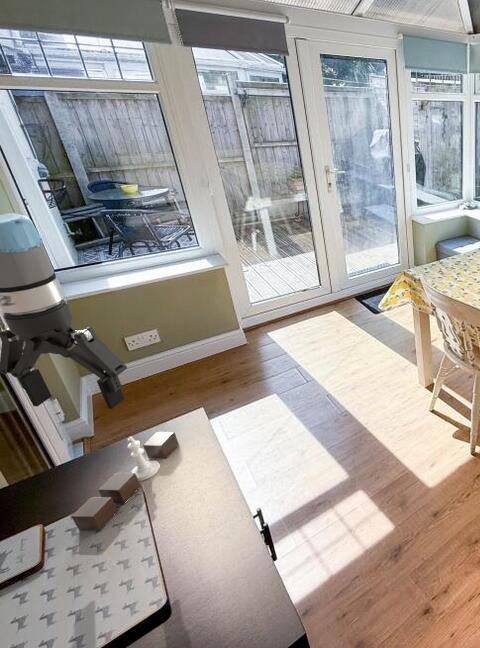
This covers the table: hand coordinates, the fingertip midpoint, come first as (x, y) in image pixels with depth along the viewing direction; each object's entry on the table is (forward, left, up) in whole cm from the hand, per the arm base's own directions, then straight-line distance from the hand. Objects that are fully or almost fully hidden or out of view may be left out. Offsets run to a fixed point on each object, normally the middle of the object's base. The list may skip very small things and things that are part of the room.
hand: (79, 402), depth 79 cm
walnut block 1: (+4, -9, -21) cm, 23 cm away
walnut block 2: (+4, -3, -21) cm, 22 cm away
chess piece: (+4, +3, -22) cm, 22 cm away
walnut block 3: (+4, +8, -21) cm, 23 cm away
